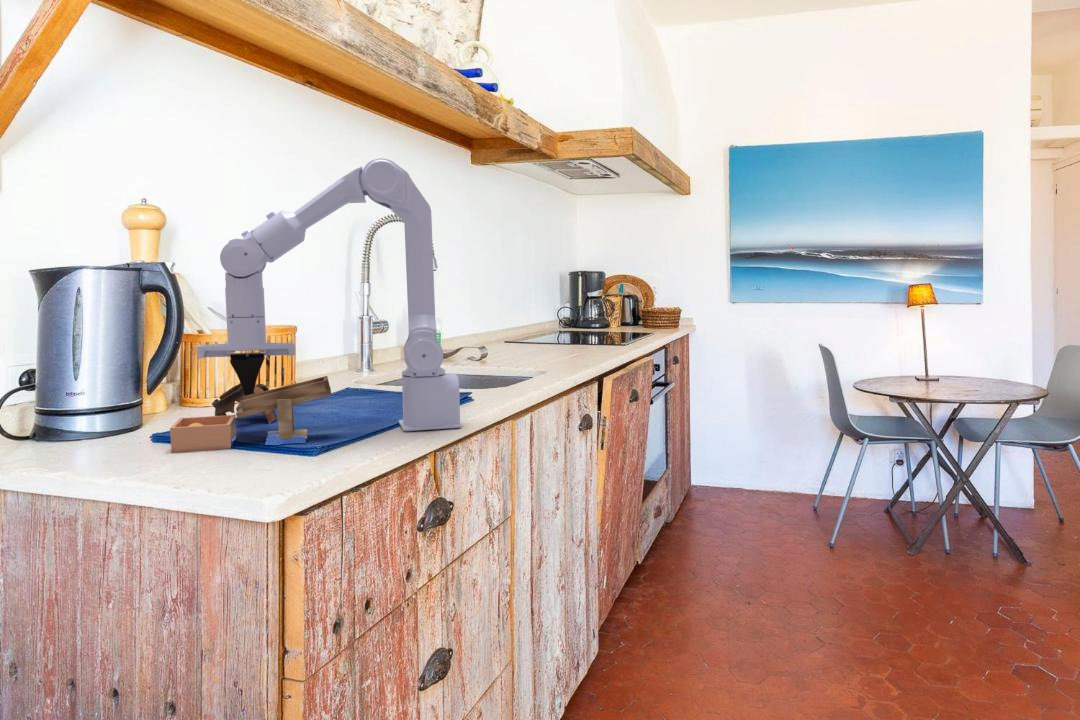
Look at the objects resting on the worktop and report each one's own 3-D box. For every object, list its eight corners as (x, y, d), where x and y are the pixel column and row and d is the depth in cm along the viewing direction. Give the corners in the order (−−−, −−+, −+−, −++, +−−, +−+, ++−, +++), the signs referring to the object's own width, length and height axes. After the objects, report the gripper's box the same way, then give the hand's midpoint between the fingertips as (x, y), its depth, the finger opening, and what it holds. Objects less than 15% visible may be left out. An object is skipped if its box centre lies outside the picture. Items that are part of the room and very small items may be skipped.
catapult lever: (330, 384, 123) (326, 371, 122) (331, 394, 112) (327, 379, 112) (241, 407, 119) (237, 393, 118) (233, 419, 108) (229, 404, 108)
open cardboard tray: (236, 437, 115) (235, 414, 114) (231, 448, 107) (229, 424, 107) (181, 440, 113) (179, 418, 112) (171, 452, 105) (169, 428, 105)
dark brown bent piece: (268, 430, 123) (239, 390, 120) (225, 452, 125) (195, 413, 123) (294, 400, 134) (268, 363, 132) (254, 421, 136) (228, 385, 134)
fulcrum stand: (307, 432, 118) (305, 391, 117) (306, 443, 110) (304, 399, 110) (268, 435, 116) (266, 393, 115) (264, 446, 109) (262, 401, 108)
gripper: (294, 314, 121) (297, 395, 123) (200, 316, 117) (204, 399, 118) (293, 317, 114) (296, 401, 116) (192, 318, 110) (197, 406, 112)
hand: (249, 401), depth 117 cm, fingers closed, pressing on catapult lever
